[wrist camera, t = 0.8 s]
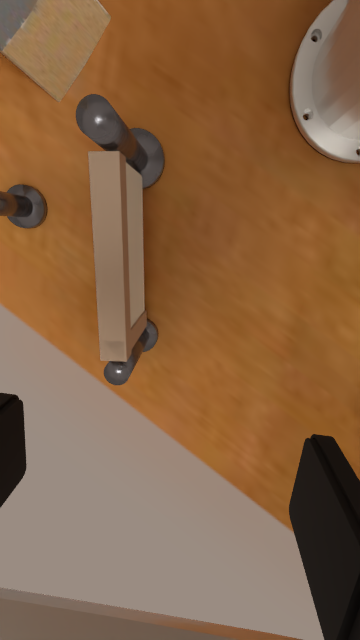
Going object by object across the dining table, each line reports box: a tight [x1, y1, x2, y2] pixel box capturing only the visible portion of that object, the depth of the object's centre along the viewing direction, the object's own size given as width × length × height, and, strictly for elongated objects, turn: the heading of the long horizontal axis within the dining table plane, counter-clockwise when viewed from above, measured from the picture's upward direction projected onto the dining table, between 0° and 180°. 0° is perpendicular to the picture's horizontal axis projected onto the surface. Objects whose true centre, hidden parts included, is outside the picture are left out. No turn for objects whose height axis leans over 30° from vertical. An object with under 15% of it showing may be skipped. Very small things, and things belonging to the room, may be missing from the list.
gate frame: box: [0, 94, 165, 385], centre depth 27 cm, size 21×16×12 cm
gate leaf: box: [88, 151, 147, 362], centre depth 26 cm, size 14×2×9 cm, turn 179°
